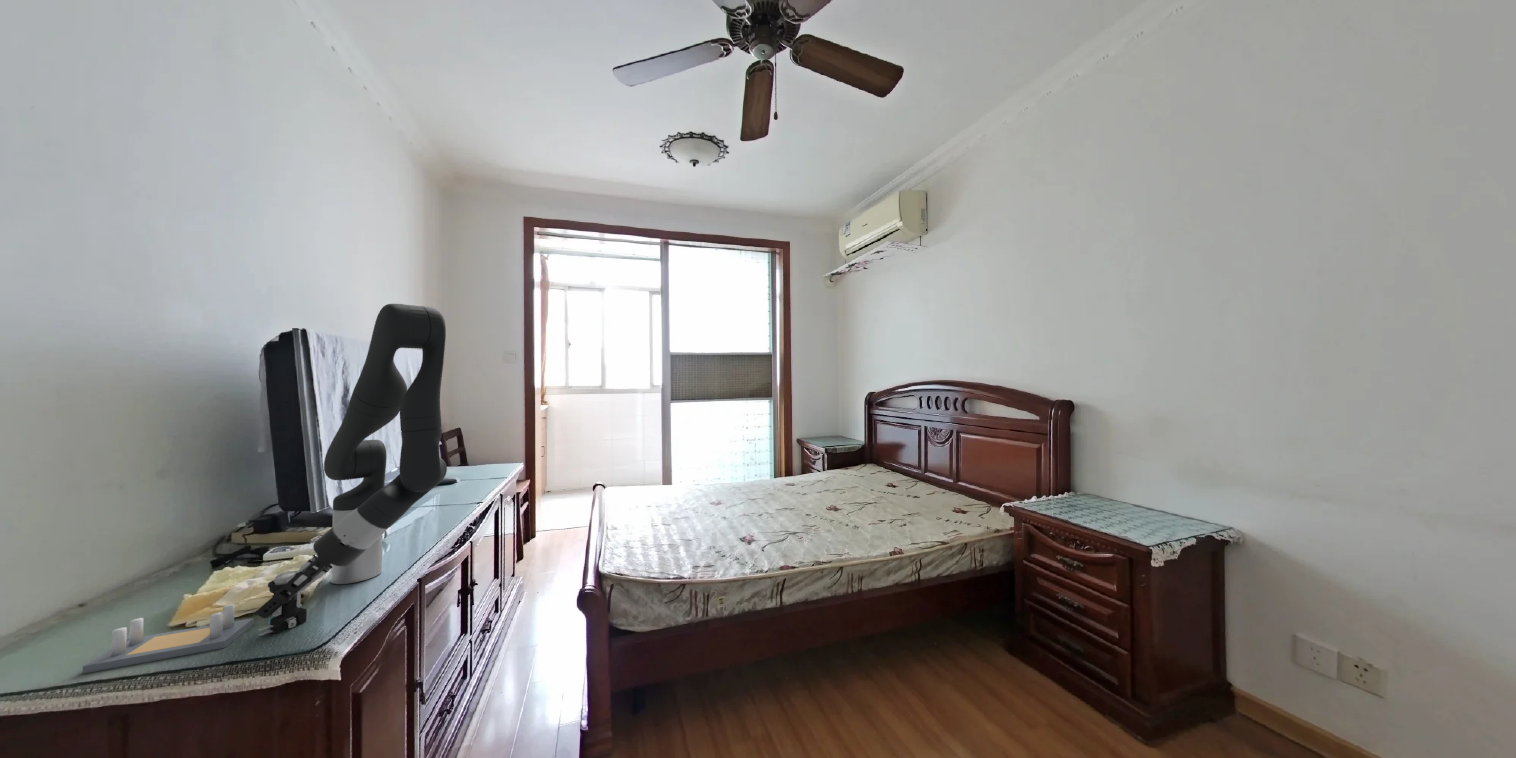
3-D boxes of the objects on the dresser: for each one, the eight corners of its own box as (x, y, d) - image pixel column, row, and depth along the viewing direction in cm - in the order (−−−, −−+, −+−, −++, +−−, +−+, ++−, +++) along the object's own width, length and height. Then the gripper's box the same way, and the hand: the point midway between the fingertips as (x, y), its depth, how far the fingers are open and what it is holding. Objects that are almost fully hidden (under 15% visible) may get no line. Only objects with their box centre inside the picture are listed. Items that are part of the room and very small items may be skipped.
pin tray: (128, 645, 80) (129, 615, 80) (253, 624, 87) (254, 597, 87) (82, 673, 72) (83, 640, 72) (224, 647, 79) (225, 617, 79)
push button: (269, 640, 81) (271, 585, 81) (249, 635, 82) (251, 581, 82) (313, 621, 88) (315, 570, 88) (294, 617, 89) (296, 567, 89)
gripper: (349, 515, 95) (270, 583, 90) (320, 534, 83) (225, 614, 77) (380, 536, 98) (305, 604, 92) (356, 558, 85) (267, 638, 79)
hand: (269, 608), depth 84 cm, fingers closed on push button, 4 cm apart
